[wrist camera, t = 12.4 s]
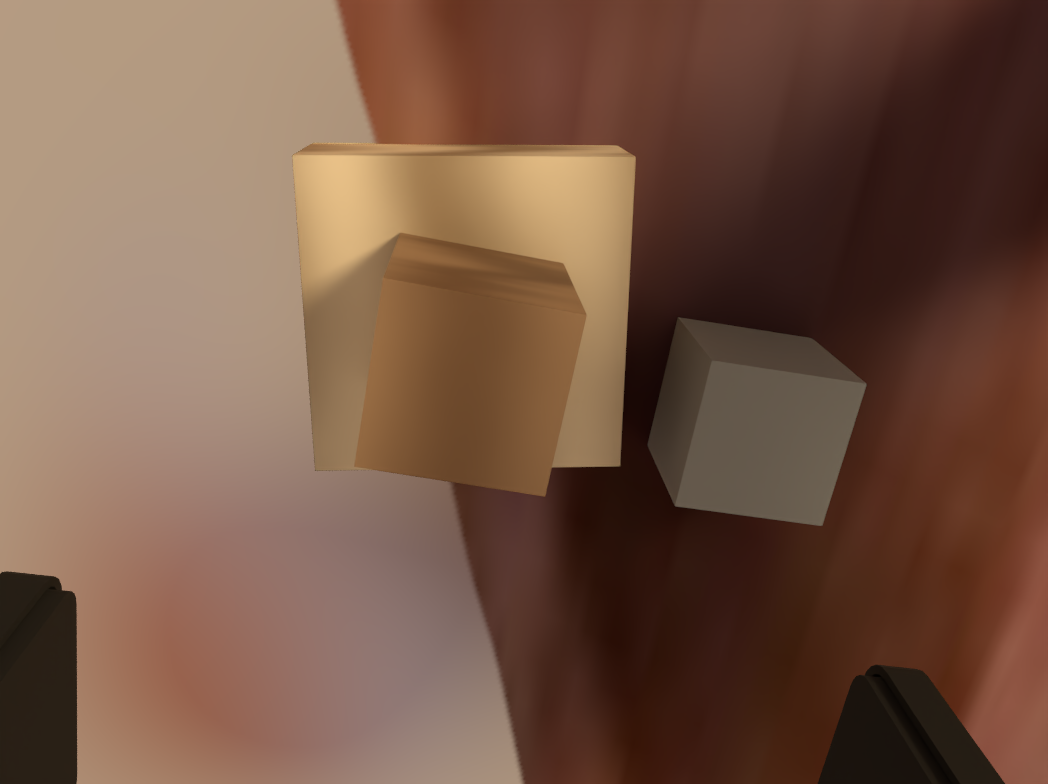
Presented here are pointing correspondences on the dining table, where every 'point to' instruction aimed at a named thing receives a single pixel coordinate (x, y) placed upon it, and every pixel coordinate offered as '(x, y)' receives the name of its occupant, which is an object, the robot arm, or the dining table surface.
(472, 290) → the walnut block
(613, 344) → the birch block
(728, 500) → the slate block
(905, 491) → the dining table surface
